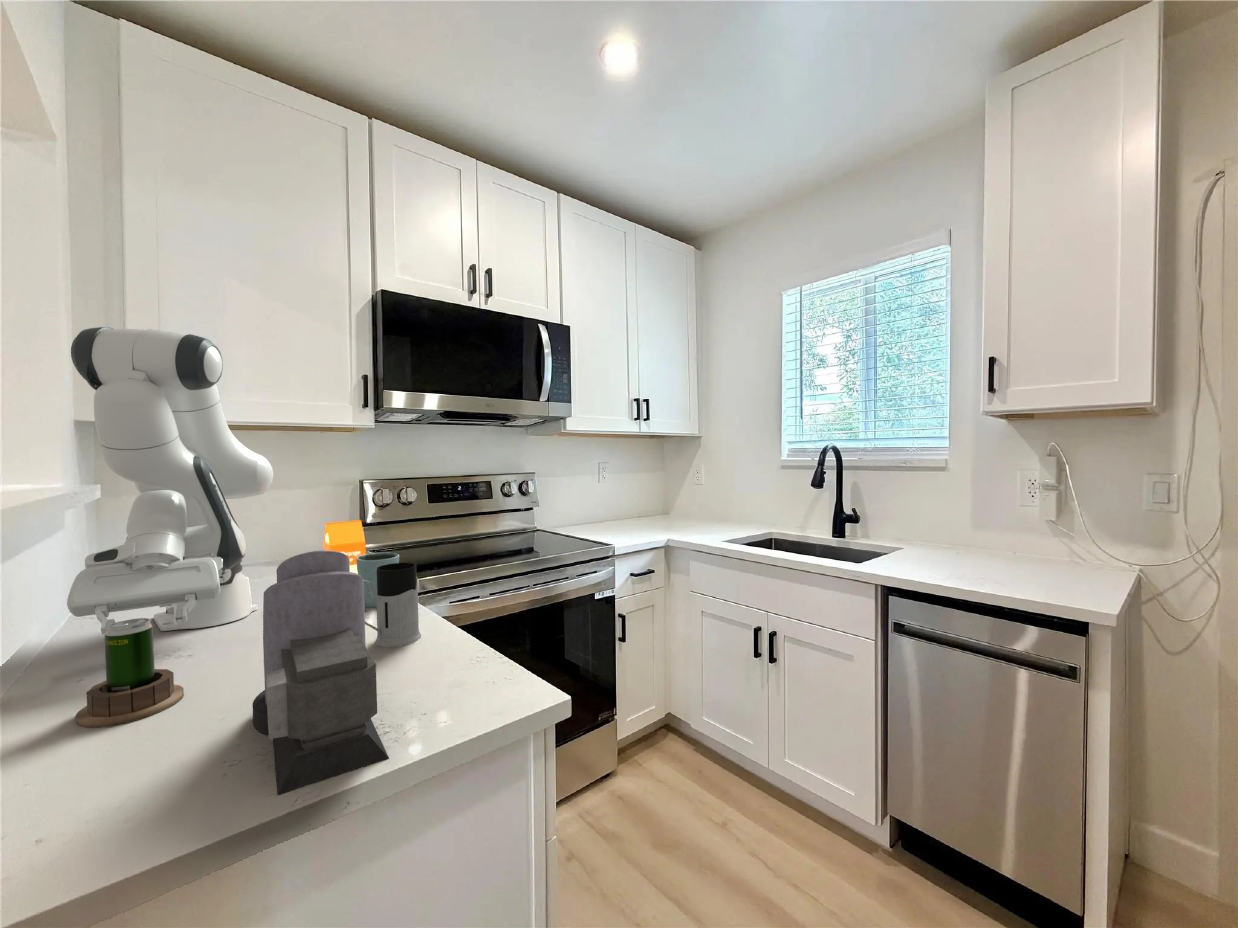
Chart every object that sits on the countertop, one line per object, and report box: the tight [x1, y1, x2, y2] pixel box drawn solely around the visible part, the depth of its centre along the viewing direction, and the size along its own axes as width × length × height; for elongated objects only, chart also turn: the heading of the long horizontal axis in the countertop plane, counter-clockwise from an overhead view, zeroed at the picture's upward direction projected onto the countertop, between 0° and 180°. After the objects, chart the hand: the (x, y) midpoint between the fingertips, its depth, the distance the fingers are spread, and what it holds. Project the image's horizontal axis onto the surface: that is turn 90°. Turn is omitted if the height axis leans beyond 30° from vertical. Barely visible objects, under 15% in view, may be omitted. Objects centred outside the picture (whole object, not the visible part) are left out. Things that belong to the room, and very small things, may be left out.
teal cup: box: [356, 551, 400, 608], centre depth 134 cm, size 10×10×12 cm
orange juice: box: [323, 519, 367, 574], centre depth 142 cm, size 8×9×20 cm
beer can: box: [103, 617, 156, 693], centre depth 80 cm, size 5×5×12 cm
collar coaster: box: [75, 668, 185, 728], centre depth 80 cm, size 12×12×4 cm
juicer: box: [252, 549, 390, 796], centre depth 74 cm, size 30×16×24 cm, turn 35°
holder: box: [363, 562, 422, 648], centre depth 105 cm, size 9×14×15 cm, turn 146°
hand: (145, 626), depth 90 cm, fingers open, 8 cm apart
